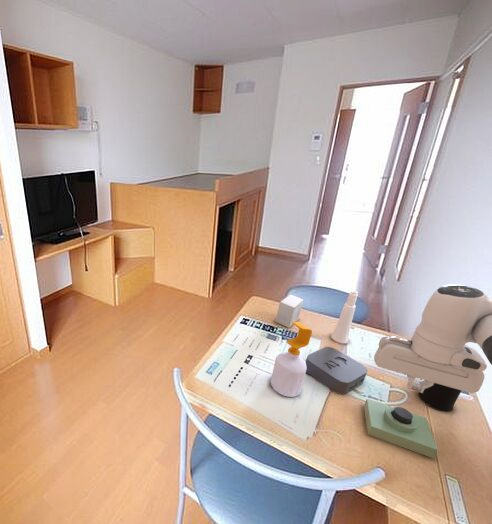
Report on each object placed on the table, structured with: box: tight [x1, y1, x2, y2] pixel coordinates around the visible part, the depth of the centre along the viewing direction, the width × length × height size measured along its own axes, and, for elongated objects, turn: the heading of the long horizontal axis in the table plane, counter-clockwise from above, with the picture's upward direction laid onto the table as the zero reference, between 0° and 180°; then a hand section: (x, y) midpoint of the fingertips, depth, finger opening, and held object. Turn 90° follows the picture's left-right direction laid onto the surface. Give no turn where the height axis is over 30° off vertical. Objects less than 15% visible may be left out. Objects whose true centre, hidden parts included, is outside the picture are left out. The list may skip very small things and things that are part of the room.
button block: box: [363, 398, 439, 459], centre depth 85 cm, size 14×11×5 cm
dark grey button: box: [392, 406, 413, 424], centre depth 84 cm, size 4×4×2 cm
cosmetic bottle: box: [330, 289, 359, 344], centre depth 120 cm, size 6×6×22 cm
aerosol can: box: [417, 383, 463, 412], centre depth 92 cm, size 8×8×20 cm
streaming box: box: [305, 346, 368, 395], centre depth 104 cm, size 14×14×5 cm
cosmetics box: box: [274, 294, 304, 329], centre depth 134 cm, size 10×6×10 cm, turn 132°
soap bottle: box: [270, 321, 313, 398], centre depth 95 cm, size 9×9×25 cm
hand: (414, 389), depth 80 cm, fingers closed
